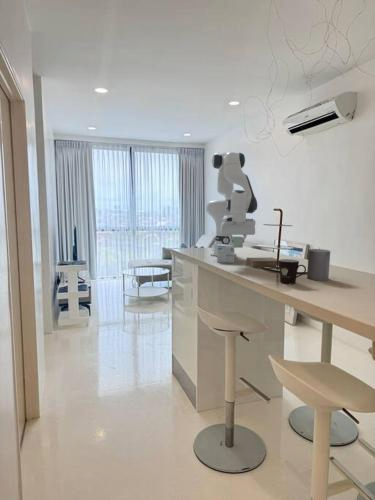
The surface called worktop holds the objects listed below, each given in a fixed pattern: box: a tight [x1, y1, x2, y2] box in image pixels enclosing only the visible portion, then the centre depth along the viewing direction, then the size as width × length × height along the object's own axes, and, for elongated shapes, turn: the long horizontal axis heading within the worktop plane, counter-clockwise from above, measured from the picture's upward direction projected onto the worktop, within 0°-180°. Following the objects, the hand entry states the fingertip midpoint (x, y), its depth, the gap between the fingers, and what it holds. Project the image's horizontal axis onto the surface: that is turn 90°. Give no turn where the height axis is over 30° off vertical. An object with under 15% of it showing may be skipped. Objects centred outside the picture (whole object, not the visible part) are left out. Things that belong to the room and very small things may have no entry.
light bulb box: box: [216, 244, 235, 264], centre depth 212 cm, size 11×7×11 cm, turn 84°
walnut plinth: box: [245, 257, 279, 269], centre depth 197 cm, size 14×16×4 cm
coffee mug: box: [278, 258, 307, 285], centre depth 150 cm, size 12×9×10 cm
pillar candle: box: [306, 247, 331, 282], centre depth 161 cm, size 10×10×15 cm
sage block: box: [232, 235, 244, 249], centre depth 197 cm, size 5×5×6 cm
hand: (237, 242), depth 197 cm, fingers closed on sage block, 5 cm apart
